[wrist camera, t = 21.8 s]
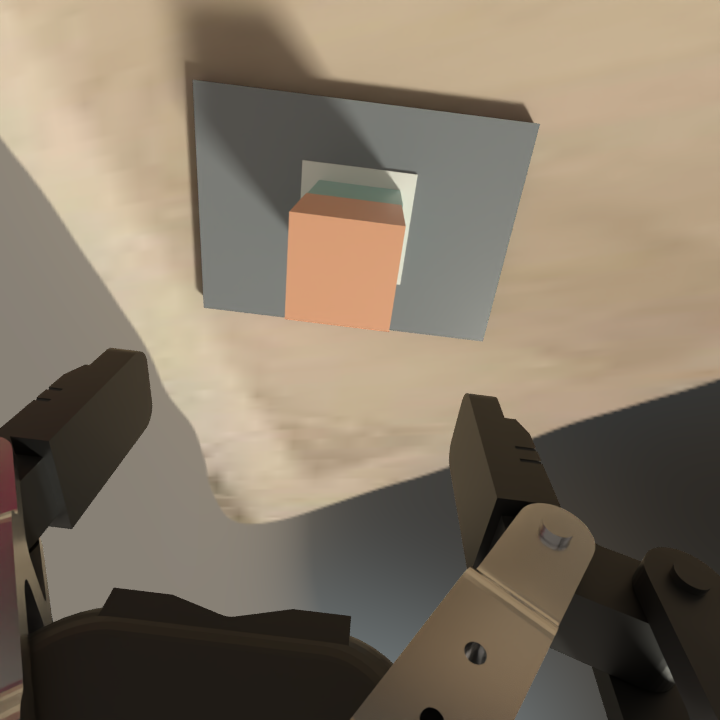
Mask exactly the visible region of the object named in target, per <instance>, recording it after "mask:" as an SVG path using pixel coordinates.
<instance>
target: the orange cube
mask: <svg viewBox="0 0 720 720" xmlns="http://www.w3.org/2000/svg"><path fill="white" fill-rule="evenodd" d="M405 228H406V225H405V219H404V214H403V209H402V205H398V204H390V203H382V202H374V201H366V200H359V199H351V198H343V197H335V196H327V195H319V194H312V193H306V194H305V195H304V196H303V197H302V198H301V199H300V200H299V201H298V202H297V204H296V205H295V206H294V207H293V208H292V209H291V210H290V211H289V230H288V253H287V277H286V300H285V319H288V320H297V321H305V322H313V323H321V324H329V325H337V326H345V327H353V328H361V329H369V330H377V331H385V332H389V329H390V322H391V316H392V310H393V303H394V297H395V291H396V285H397V278H398V272H399V266H400V259H401V253H402V247H403V241H404V234H405Z"/></svg>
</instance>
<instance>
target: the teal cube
mask: <svg viewBox="0 0 720 720" xmlns="http://www.w3.org/2000/svg"><path fill="white" fill-rule="evenodd" d="M308 193H312V194H319V195H327V196H335V197H343V198H351V199H359V200H366V201H374V202H382V203H390V204H398V205H402V209H403V202H402V197H401V192H400V190H394V189H386V188H378V187H370V186H363V185H355V184H347V183H340V182H332V181H324V180H319V181H318V182H317V183H316V184H315V185H314V186H313V187H312V188H311V190H310V191H309V192H308Z"/></svg>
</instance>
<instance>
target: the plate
mask: <svg viewBox="0 0 720 720" xmlns="http://www.w3.org/2000/svg"><path fill="white" fill-rule="evenodd" d="M193 98H194V118H195V139H196V159H197V179H198V199H199V219H200V240H201V260H202V280H203V300H204V308H211V309H219V310H227V311H235V312H244V313H252V314H260V315H269V316H277V317H285V300H286V277H287V253H288V230H289V211H290V210H291V209H292V208H293V207H294V206H295V205H296V204H297V202H298V201H299V200H300V199H301V198H302V197H303V196H304V195H305V194H306V193H308V192H309V191H310V190H311V188H312V187H313V186H314V185H315V184H316V183H317V182H318V181H319V180H324V181H332V182H340V183H347V184H355V185H363V186H370V187H378V188H386V189H394V190H400V192H401V197H402V202H403V214H404V219H405V225H406V228H405V234H404V241H403V247H402V253H401V259H400V266H399V272H398V278H397V285H396V291H395V297H394V303H393V310H392V316H391V322H390V329H389V330H393V331H401V332H409V333H418V334H426V335H434V336H442V337H451V338H459V339H467V340H476V341H483V339H484V335H485V331H486V327H487V323H488V320H489V316H490V312H491V308H492V304H493V301H494V297H495V293H496V289H497V285H498V281H499V278H500V274H501V270H502V266H503V262H504V259H505V255H506V251H507V247H508V243H509V240H510V236H511V232H512V228H513V224H514V221H515V217H516V213H517V209H518V205H519V202H520V198H521V194H522V190H523V186H524V183H525V179H526V175H527V171H528V167H529V164H530V160H531V156H532V152H533V148H534V145H535V141H536V137H537V133H538V129H539V126H540V124H537V123H529V122H521V121H514V120H506V119H498V118H490V117H482V116H474V115H466V114H459V113H451V112H443V111H435V110H427V109H419V108H411V107H404V106H396V105H388V104H380V103H372V102H364V101H356V100H349V99H341V98H333V97H325V96H317V95H309V94H301V93H294V92H286V91H278V90H270V89H262V88H254V87H246V86H239V85H231V84H223V83H215V82H207V81H199V80H193Z"/></svg>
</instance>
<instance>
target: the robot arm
mask: <svg viewBox="0 0 720 720" xmlns="http://www.w3.org/2000/svg"><path fill="white" fill-rule="evenodd" d="M151 413H152V398H151V390H150V382H149V373H148V365H147V359H146V356H145V354H144V353H143V352H140V351H132V350H124V349H116V348H109V349H107V350H106V351H105V352H104V353H103V354H102V355H100V356H99V357H98V358H97V359H96V360H95V361H94V362H93V363H92V364H90V365H83V366H81V367H79V368H77V369H75V370H72V371H70V372H68V373H66V374H64V375H63V376H61V377H60V378H59V379H58V380H57V381H56V382H54V383H53V384H52V385H51V386H50V387H49V390H45V391H44V392H43V393H41V394H40V395H39V396H38V397H37V399H36V400H33V401H32V402H31V403H29V404H28V405H27V406H26V407H25V408H24V409H22V410H21V411H20V412H19V413H18V414H17V415H15V416H14V417H13V418H12V419H11V420H9V421H8V422H7V423H6V424H5V425H3V426H2V427H1V428H0V720H514V719H515V717H516V715H517V713H518V711H519V709H520V707H521V705H522V703H523V700H524V699H525V697H526V694H527V692H528V690H529V688H530V686H531V684H532V682H533V680H534V678H535V676H536V674H537V672H538V670H539V668H540V665H541V664H542V662H543V659H544V657H545V655H546V653H547V651H548V649H549V648H552V649H554V650H556V651H558V652H561V653H563V654H565V655H567V656H570V657H572V658H574V659H576V660H579V661H581V662H583V663H585V664H588V665H590V666H592V669H593V672H594V675H595V679H596V682H597V685H598V688H599V692H600V695H601V698H602V702H603V705H604V708H605V711H606V714H607V718H608V720H720V576H719V575H718V574H717V573H716V572H715V571H714V570H713V569H711V568H710V567H709V566H707V565H706V564H705V563H703V562H702V561H700V560H699V559H697V558H695V557H693V556H692V555H689V554H687V553H685V552H683V551H679V550H677V549H672V548H666V547H657V548H653V549H651V550H649V551H648V552H647V554H646V555H645V556H644V558H643V560H642V561H638V560H636V559H633V558H631V557H628V556H625V555H623V554H620V553H617V552H615V551H612V550H609V549H607V548H604V547H601V546H599V545H597V544H596V543H595V542H594V538H593V536H592V534H591V532H590V531H589V529H588V528H587V527H586V525H585V524H584V523H583V522H582V521H581V520H580V519H578V518H577V517H576V516H574V515H573V514H571V513H570V512H568V511H566V510H564V509H562V508H561V507H560V504H559V502H558V499H557V497H556V495H555V492H554V490H553V488H552V485H551V483H550V481H549V478H548V476H547V474H546V471H545V469H544V467H543V464H541V460H540V457H539V455H538V453H537V452H536V448H535V445H534V443H533V441H532V438H531V436H530V434H529V433H528V432H527V431H526V430H525V429H524V428H523V427H522V425H521V424H520V423H519V422H518V421H517V420H516V419H508V418H504V415H503V412H502V410H501V407H500V404H499V402H498V399H497V398H496V397H492V396H484V395H476V394H468V393H466V394H465V395H464V397H463V400H462V403H461V407H460V411H459V414H458V418H457V422H456V426H455V429H454V433H453V437H452V441H451V445H450V453H449V466H450V472H451V478H452V484H453V489H454V496H455V501H456V507H457V513H458V519H459V525H460V530H461V537H462V543H463V549H464V554H465V560H466V566H467V570H466V571H465V572H464V574H463V575H462V576H461V577H460V579H459V580H458V581H457V582H456V584H455V585H454V586H453V588H452V589H451V590H450V592H449V593H448V594H447V595H446V597H445V598H444V599H443V601H442V602H441V603H440V605H439V606H438V607H437V608H436V610H435V611H434V612H433V613H432V615H431V616H430V617H429V619H428V620H427V621H426V622H425V624H424V625H423V626H422V628H421V629H420V630H419V631H418V633H417V634H416V635H415V637H414V638H413V639H412V641H411V642H410V643H409V644H408V646H407V647H406V648H405V650H404V651H403V652H402V653H401V655H400V656H399V657H398V659H397V660H396V661H395V662H394V664H393V663H392V662H391V661H390V660H389V659H388V658H386V657H385V656H384V655H383V654H381V653H380V652H379V651H377V650H376V649H374V648H373V647H371V646H370V645H368V644H366V643H364V642H363V641H361V640H359V639H356V638H354V637H352V636H350V621H351V616H345V615H337V614H329V613H320V612H312V611H303V610H295V609H291V610H283V611H275V612H267V613H260V614H252V615H244V616H236V617H227V616H223V615H220V614H218V613H216V612H213V611H211V610H208V609H206V608H203V607H201V606H198V605H196V604H194V603H191V602H189V601H186V600H184V599H181V598H179V597H177V596H174V595H170V594H161V593H154V592H145V591H137V590H129V589H120V588H113V590H112V592H111V594H110V596H109V597H108V599H107V601H106V603H105V604H104V606H103V608H97V609H92V610H88V611H84V612H80V613H77V614H74V615H71V616H68V617H65V618H62V619H60V620H58V621H55V622H53V618H52V613H51V605H50V597H49V589H48V582H47V574H46V566H45V558H44V551H43V545H42V541H41V538H40V536H41V535H42V534H43V533H44V531H45V530H46V529H47V528H48V526H51V527H59V528H68V529H72V528H73V527H74V525H75V524H76V523H77V521H78V520H79V519H80V517H81V516H82V515H83V513H84V512H85V511H86V509H87V508H88V506H89V505H90V504H91V502H92V501H93V500H94V498H95V497H96V496H97V494H98V493H99V492H100V490H101V489H102V487H103V486H104V485H105V483H106V482H107V481H108V479H109V478H110V477H111V475H112V474H113V472H114V471H115V470H116V468H117V467H118V466H119V464H120V463H121V462H122V460H123V459H124V458H125V456H126V455H127V454H128V452H129V451H130V449H131V448H132V447H133V445H134V444H135V443H136V441H137V440H138V438H139V437H140V436H141V435H142V433H143V432H144V430H145V429H146V428H147V426H148V424H149V421H150V417H151Z"/></svg>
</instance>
